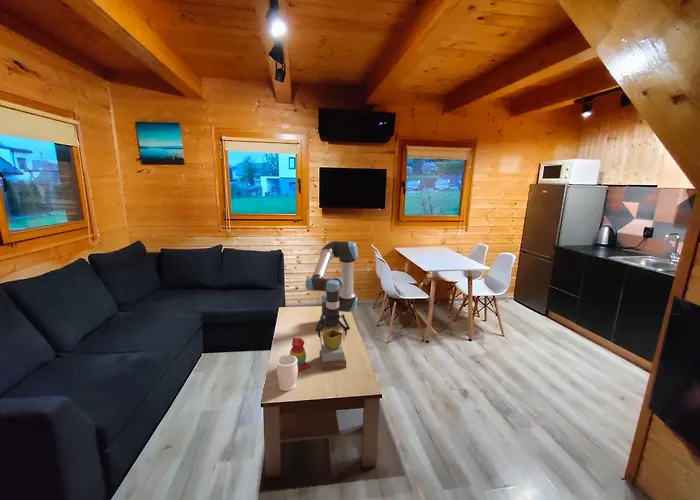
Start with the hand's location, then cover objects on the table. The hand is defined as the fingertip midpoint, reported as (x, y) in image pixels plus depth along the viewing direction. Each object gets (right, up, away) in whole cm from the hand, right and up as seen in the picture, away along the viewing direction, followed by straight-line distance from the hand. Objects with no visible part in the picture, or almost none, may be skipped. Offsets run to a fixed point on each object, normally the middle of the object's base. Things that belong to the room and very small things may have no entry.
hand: (332, 341), depth 183 cm
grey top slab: (0, -9, +1) cm, 9 cm away
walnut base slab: (0, -14, +2) cm, 14 cm away
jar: (-22, -18, -20) cm, 35 cm away
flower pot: (0, -4, +1) cm, 4 cm away
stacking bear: (-20, -14, -3) cm, 24 cm away
